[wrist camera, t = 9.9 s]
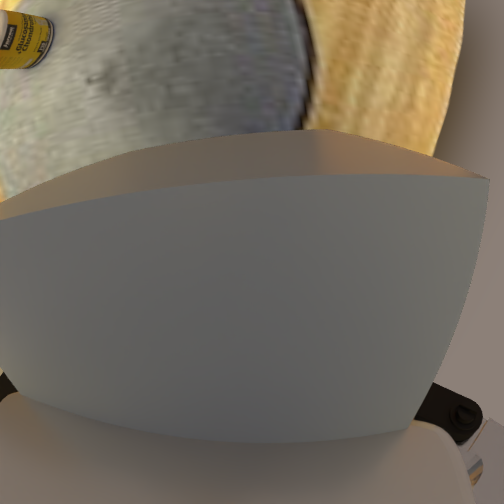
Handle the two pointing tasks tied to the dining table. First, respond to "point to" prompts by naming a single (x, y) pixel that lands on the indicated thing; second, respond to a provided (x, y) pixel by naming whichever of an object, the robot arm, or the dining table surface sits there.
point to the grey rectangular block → (240, 285)
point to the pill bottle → (23, 39)
